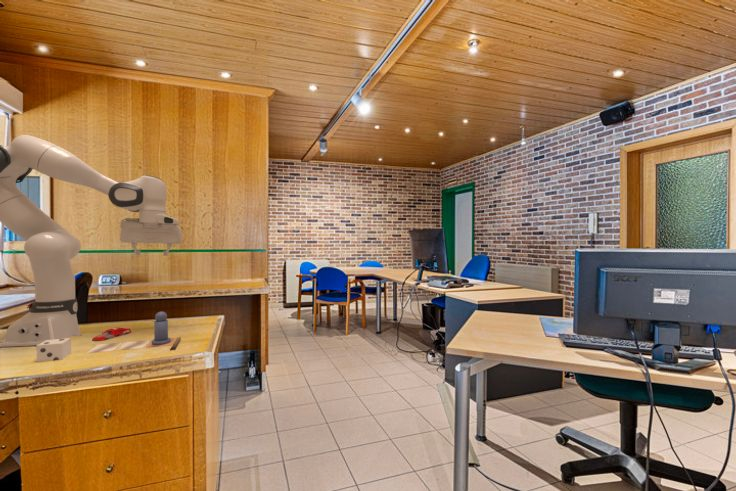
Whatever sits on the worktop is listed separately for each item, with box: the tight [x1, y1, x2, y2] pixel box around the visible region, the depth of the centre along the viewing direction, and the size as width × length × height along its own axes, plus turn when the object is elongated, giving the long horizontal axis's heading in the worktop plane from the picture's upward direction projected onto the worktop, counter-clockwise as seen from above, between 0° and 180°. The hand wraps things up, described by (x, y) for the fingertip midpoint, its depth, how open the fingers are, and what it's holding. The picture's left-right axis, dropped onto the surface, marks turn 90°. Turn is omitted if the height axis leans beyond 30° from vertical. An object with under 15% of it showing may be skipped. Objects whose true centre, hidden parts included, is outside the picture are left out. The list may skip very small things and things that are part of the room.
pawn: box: [151, 311, 172, 345], centre depth 121 cm, size 6×6×11 cm
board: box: [86, 336, 181, 354], centre depth 118 cm, size 26×12×1 cm, turn 110°
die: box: [35, 337, 72, 363], centre depth 106 cm, size 6×6×6 cm
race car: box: [91, 327, 132, 342], centre depth 129 cm, size 13×5×4 cm, turn 164°
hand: (151, 255), depth 135 cm, fingers open, 8 cm apart
